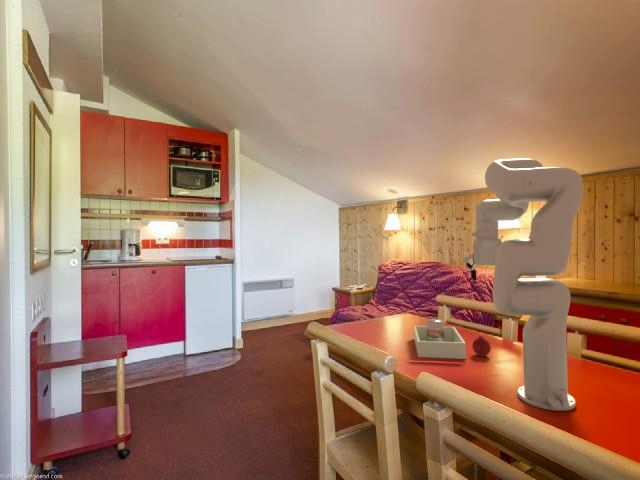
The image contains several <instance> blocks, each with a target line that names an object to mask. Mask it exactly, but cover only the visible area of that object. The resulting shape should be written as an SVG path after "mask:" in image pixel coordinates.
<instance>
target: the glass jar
mask: <svg viewBox="0 0 640 480" xmlns="http://www.w3.org/2000/svg"><path fill="white" fill-rule="evenodd" d="M444 322H445V321H444V320H443V319H440V318H427V319H426V326H427V341H434V342H444V327H445V325H444Z"/></svg>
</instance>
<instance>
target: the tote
mask: <svg viewBox="0 0 640 480" xmlns="http://www.w3.org/2000/svg"><path fill="white" fill-rule="evenodd" d="M413 340H414V344H415V349H416V353H417V357H418V358H432V359H433V358H435V359H436V358H437V359H438V358H439V359H455V360H457V359H461V360H467V345H466V344H467V343H466V342H465V340H464V339H463V337H462V336H461V335H460V332H458V330H457V329H456V327H455V326H444V342H434V341H427V325H413Z"/></svg>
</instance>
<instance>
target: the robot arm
mask: <svg viewBox="0 0 640 480" xmlns="http://www.w3.org/2000/svg"><path fill="white" fill-rule="evenodd" d="M484 183H485V186H486V188H488V190H489V191H490V192H491V193H492V194H494V195H495V196H496V198H497V199H485V200H481V201H480V202H477V203H476V205H475V231H473V232H471V236H472V237H475V239H473V247H472V253H471V254H469V255H468V256H465V257H464V258H462V261H463V262H464V265H465V266H466V267H467V268H468V269H469V270H470V279H472V281H474V282H476V281H477V270H476V268H477V267H479V266H494V271H493V272H494V274H493V285H492V286H493V287H492V302H493V306H494V308H495V310H496V311H497V312H498V313H500V314H501V315H506V316H529V318H528V319H527V320H526V322H525V324H524V326H523V329H522V351H523V354H522V357H523V360H522V361H523V385H521V386H520V387H519V388H518V389H517V397H518V398H520V400H522V401H523V402H524V403H527V404H528V405H530V406H533V407H536V408H540V409H543V410H547V411H555V412H557V411H558V412H567V411H571V410H573V409H574V408H575V407H576V405H577V404H576V399H575V398H574V397H573V396H572V395H571V394H569V392H568V391H569V390H568V389H569V388H568V353H567V352H568V350H567V348H568V347H567V341H568V340H567V322H568V314H569V310H570V305H571V291H570V290H569V287H568V285H566V284H565V283H564V282H563V281H561V280H558V279H555V278H548V277H549V276H558V275H561V274H563V273H564V272H565V271H566V269H567V267H568V262H569V256H570V248H571V243H572V242H571V241H572V235H573V233H572V232H573V226H574V222H575V219H576V216H577V214H578V211H579V209H580V206H581V205H582V204H581V203H582V202H583V197H584V182H583V178H582V176H581V174H580V173H579V172H577V170H575V169H573V168H570V167H561V166H547V167H545V166H543V164H542V163H541V162H540V161H538V160H536V159H534V158H527V157H526V158H508V159H507V158H506V159H498V160H494V161H493V162H491V163H490V164H489V165H488V166H487V168H486V170H485V174H484ZM533 202H545V204H544V205H542V207H540V209H539V210H538V211H537V212H536V213H535V214H534V215H533V217H532V220H531V222H530V223H531V224H530V232H529V236H528V237H527V238H512V239H511V238H510V239H506V240H504V241H502V238H499V222H500V221H514V220H515V221H516V220H518V219H520V218H521V217H522V216H523V215H524V214H526V213H527V211H528V209H529V205H530V203H533ZM471 259H472V264H471V263H470V260H471ZM521 277H529V278H521ZM531 277H532V278H531ZM533 277H534V278H533ZM535 277H536V278H535Z"/></svg>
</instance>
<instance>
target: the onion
mask: <svg viewBox="0 0 640 480" xmlns="http://www.w3.org/2000/svg"><path fill="white" fill-rule="evenodd" d="M491 349H492V347H491V343H490V342H489V340H488V339H486V338H485V337H484V335H483V334H479V336H478V337H477V338H475V339H474V340H473V342H472V350H473V352H474V353H475V354H476V355H477V356H478V357H482V358H483V357H486V356H487V355H489V353H490V352H491Z"/></svg>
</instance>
